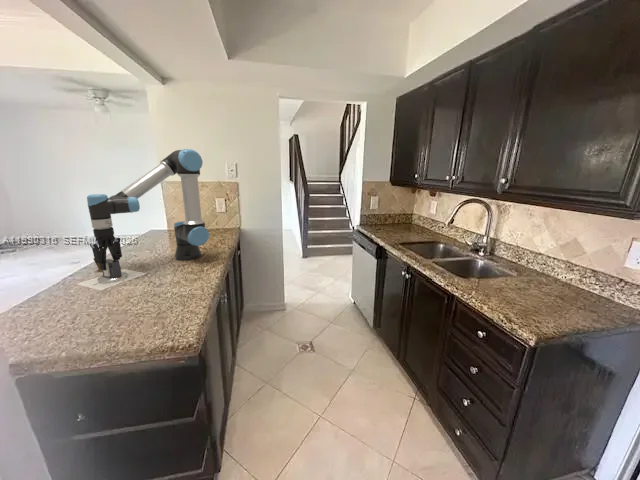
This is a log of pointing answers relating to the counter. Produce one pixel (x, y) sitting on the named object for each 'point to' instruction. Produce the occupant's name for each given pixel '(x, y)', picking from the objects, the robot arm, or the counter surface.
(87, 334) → the counter surface
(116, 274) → the dial
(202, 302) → the counter surface
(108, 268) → the robot arm
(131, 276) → the dial panel
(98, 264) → the rock
